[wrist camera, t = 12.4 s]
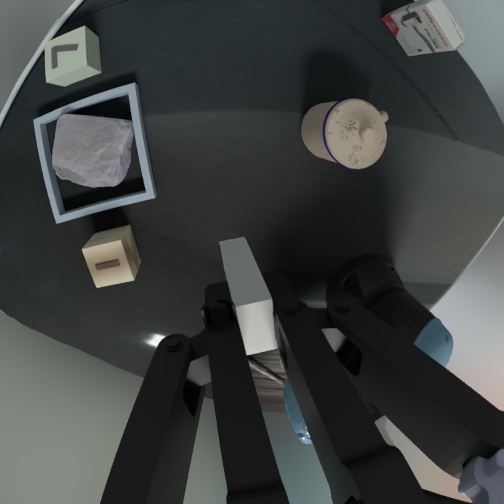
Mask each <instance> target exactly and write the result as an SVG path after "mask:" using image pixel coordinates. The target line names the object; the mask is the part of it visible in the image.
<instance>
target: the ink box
mask: <svg viewBox="0 0 504 504" xmlns="http://www.w3.org/2000/svg"><path fill="white" fill-rule="evenodd" d="M381 19H382V21H383V22H384V23H385V24H386V26H387V27H388V28H389V30H390V31H391V32H392V34H393V35H394V36H395V38H396V39H397V41H398V42H399V43H400V45H401V46H402V48H403V49H404V51H405V52H406V54H407V55H408V56H414V55H421V54H427V53H435V52H443V51H452V50H456V49H458V48H459V47H460V46H461V45H462V44H463V43H464V42H465V36H464V34H463V33H462V31H461V29H460V27H459V26H458V24H457V23H456V21H455V19H454V17H453V16H452V15H451V13H450V12H449V10H448V8H447V7H446V5H445V4H444V2H443V1H442V0H420V1H417V2H414V3H411V4H408V5H406V6H403V7H400V8H398V9H395V10H393V11H391V12H389V13H388V14H386V15H385V16H384V17H382V18H381Z"/></svg>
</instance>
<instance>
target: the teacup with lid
mask: <svg viewBox="0 0 504 504" xmlns="http://www.w3.org/2000/svg"><path fill="white" fill-rule="evenodd" d="M387 120H388V115H387V113H386V112H384V111H378V110H377V109H376V108H375V107H374V106H372V105H371V104H370V103H368V102H366V101H364V100H362V99H358V98H346V99H343V100H340V101H335V102H328V103H321V104H318V105H315V106H314V107H312V108H311V109H310V110H309V111H308V112H307V113H306V114H305V116H304V118H303V121H302V125H301V134H302V139H303V141H304V144H305V145H306V147H307V148H308V150H309V151H310V152H311V153H313V154H314V155H315V156H317V157H319V158H322V159H326V160H329V161H332V162H336V163H338V164H340V165H341V166H343V167H346V168H349V169H363V168H366V167H368V166H370V165H372V164H373V163H375V162H376V161H377V160H378V159H379V157H380V156H381V154H382V153H383V151H384V148H385V145H386V139H387V132H386V126H385V123H384V122H386V121H387Z"/></svg>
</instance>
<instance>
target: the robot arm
mask: <svg viewBox="0 0 504 504" xmlns="http://www.w3.org/2000/svg"><path fill="white" fill-rule="evenodd" d="M220 248H221V253H222V258H223V263H224V269H225V274H226V279H227V281H225V282H220V283H214V284H209V285H208V286H207V287H206V289H205V291H204V292H205V304H204V305H203V306H202V309H201V313H202V316H203V320H204V323H205V329H204V330H203V331H202V332H201V333H199V334H198V335H196V336H194V337H191V338H188V337H187V336H185V335H183V334H172V335H169V336H167V337H165V338H164V339H162V340H161V341H160V343H159V344H158V346H157V349H156V351H155V354H154V356H153V358H152V361H151V363H150V366H149V368H148V371H147V373H146V376H145V378H144V381H143V383H142V386H141V388H140V391H139V394H138V396H137V398H136V401H135V404H134V406H133V409H132V412H131V414H130V417H129V420H128V422H127V425H126V428H125V430H124V433H123V436H122V439H121V442H120V444H119V447H118V450H117V453H116V456H115V459H114V462H113V465H112V468H111V471H110V474H109V477H108V480H107V483H106V486H105V489H104V492H103V496H102V499H101V502H100V504H183V500H184V495H185V489H186V484H187V479H188V473H189V467H190V463H191V458H192V453H193V448H194V442H195V437H196V432H197V428H198V423H199V418H200V412H201V407H202V403H203V398H204V393H205V388H206V383H209V382H211V383H212V391H213V399H214V407H215V414H216V421H217V427H218V435H219V442H220V448H221V454H222V460H223V466H224V472H225V478H226V484H227V490H228V493H227V497H226V501H227V504H289V500H288V497H287V494H286V491H285V488H284V486H283V483H282V481H281V477H280V474H279V471H278V467H277V464H276V460H275V457H274V453H273V450H272V446H271V443H270V440H269V436H268V433H267V429H266V425H265V422H264V418H263V414H262V411H261V407H260V403H259V400H258V396H257V392H256V388H255V385H254V381H253V377H252V373H251V369H250V366H249V362H248V358H247V355H250V354H255V353H260V352H264V351H268V350H273V349H277V344H278V346H279V350H280V361H281V368H283V367H284V369H285V371H286V374H287V377H288V378H287V379H286V381H285V384H284V400H285V405H286V409H287V412H288V415H289V418H290V421H291V424H292V426H293V428H294V430H295V432H296V433H297V435H298V437H299V439H300V440H301V441H302V442H303V443H305V444H308V443H309V444H311V443H313V445H314V447H315V450H316V453H317V455H318V458H319V461H320V463H321V466H322V468H323V471H324V473H325V476H326V479H327V481H328V483H329V487H330V490H331V497H332V501H333V504H504V411H501V410H498V409H497V408H496V407H495V406H494V405H492V404H491V403H490V402H489V401H487V400H486V399H485V398H483V397H482V396H481V395H480V394H478V393H477V392H476V391H475V390H473V389H472V388H471V387H469V386H468V385H467V384H465V383H464V382H462V380H460V379H459V378H458V377H456V376H455V375H454V374H453V373H451V372H450V371H449V370H447V369H446V368H445V366H446V365H447V363H448V361H449V359H450V356H451V353H452V349H453V338H452V336H451V334H450V332H449V331H448V330H447V329H446V328H445V326H444V325H443V324H442V323H441V321H440V319H438V318H436V317H435V316H434V315H433V314H432V313H431V312H430V311H429V310H428V309H427V308H425V307H424V306H423V305H422V304H421V303H420V302H419V301H418V300H417V299H416V298H415V297H413V296H412V295H411V294H410V293H409V292H408V291H407V290H406V289H405V288H404V285H403V283H402V281H401V279H400V277H399V275H398V273H397V271H396V269H395V268H394V266H393V265H392V264H391V263H389V262H388V261H387V260H386V259H384V258H383V257H380V256H377V255H366V256H362V257H359V258H357V259H355V260H353V261H351V262H350V263H348V264H347V265H346V266H345V267H343V268H342V269H341V270H340V271H339V273H338V274H337V275H336V276H335V278H334V279H333V281H332V283H331V285H330V287H329V290H328V293H327V300H326V301H327V308H319V309H317V308H309V307H308V306H307V305H306V304H305V303H304V302H303V301H300V300H298V298H297V297H296V295H295V293H294V291H293V290H292V288H291V286H290V285H289V283H288V281H287V279H286V278H285V276H284V274H282V273H281V272H279V271H277V270H275V271H270V272H266V273H260V270H259V268H258V266H257V264H256V261H255V259H254V257H253V254H252V252H251V250H250V248H249V245H248V243H247V241H246V239H245V237H241V238H236V239H230V240H225V241H220ZM387 419H389V420H390V421H391V422H392V423H393V424H394V425H395V426H396V427H397V428H398V429H399V430H400V431H401V432H402V433H403V434H404V435H405V436H406V437H408V438H409V439H410V440H411V441H412V442H413V443H414V444H415V445H416V446H417V447H418V448H419V449H420V450H421V451H422V452H423V453H424V454H425V455H426V456H427V457H428V458H429V459H431V460H432V461H433V462H434V463H435V464H436V465H437V466H438V467H440V468H441V469H442V470H443V471H445V472H447V473H448V474H450V475H451V476H453V477H455V478H458V479H460V483H459V486H458V492H459V493H460V494H463V495H467V496H468V497H469V498H470V499H471V500H472V502H473V503H469V502H465V501H461V500H457V499H454V498H450V497H446V496H443V495H440V494H437V493H434V492H431V491H428V490H424V489H422V488H421V486H420V485H419V483H418V481H417V479H416V477H415V476H414V474H413V472H412V470H411V468H410V466H409V465H408V463H407V461H406V460H405V457H404V456H403V454H402V453H401V451H400V450H399V449H398V448H397V447H395V445H394V443H393V441H392V439H391V437H390V435H389V434H388V432H387V430H386V428H385V425H386V422H387Z"/></svg>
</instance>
